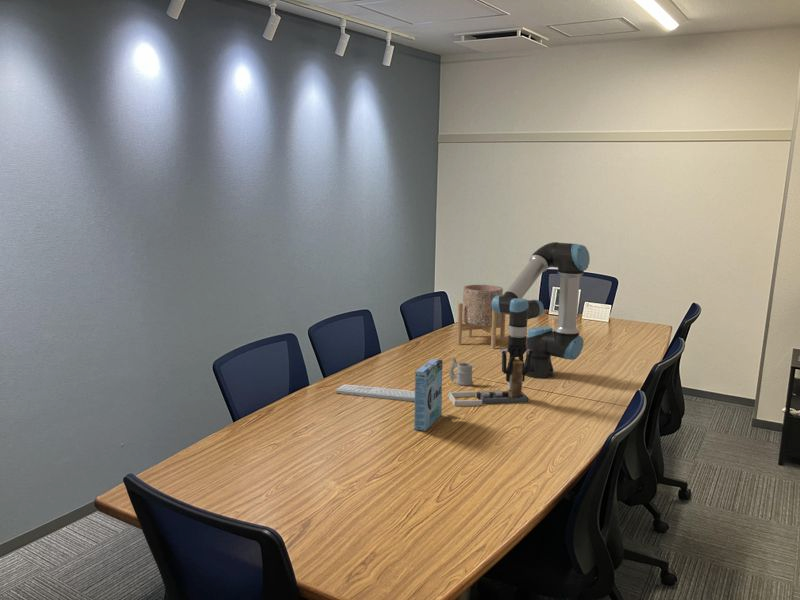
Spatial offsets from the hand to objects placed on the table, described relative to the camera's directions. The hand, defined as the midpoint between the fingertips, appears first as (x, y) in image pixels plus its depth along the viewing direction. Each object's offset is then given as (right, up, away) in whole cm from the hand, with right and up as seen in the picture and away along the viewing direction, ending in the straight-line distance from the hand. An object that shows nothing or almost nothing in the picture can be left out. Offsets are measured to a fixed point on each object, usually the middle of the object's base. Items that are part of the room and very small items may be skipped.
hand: (514, 388), depth 284 cm
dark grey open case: (-6, -6, 0) cm, 8 cm away
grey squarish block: (-13, -5, -1) cm, 14 cm away
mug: (-21, -1, +23) cm, 31 cm away
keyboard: (-55, -4, +8) cm, 55 cm away
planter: (-2, +13, +101) cm, 102 cm away
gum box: (-38, -10, -25) cm, 46 cm away
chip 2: (-8, -5, 0) cm, 9 cm away
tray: (-22, -6, -2) cm, 22 cm away
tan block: (0, -4, +1) cm, 4 cm away
